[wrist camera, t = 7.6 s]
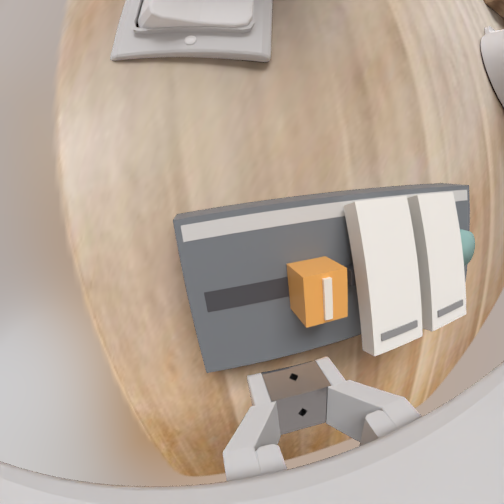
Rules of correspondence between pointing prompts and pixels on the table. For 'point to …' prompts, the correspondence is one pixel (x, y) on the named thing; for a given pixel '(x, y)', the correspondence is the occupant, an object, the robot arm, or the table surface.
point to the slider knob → (318, 290)
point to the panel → (272, 270)
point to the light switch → (194, 29)
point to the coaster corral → (496, 6)
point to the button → (467, 245)
